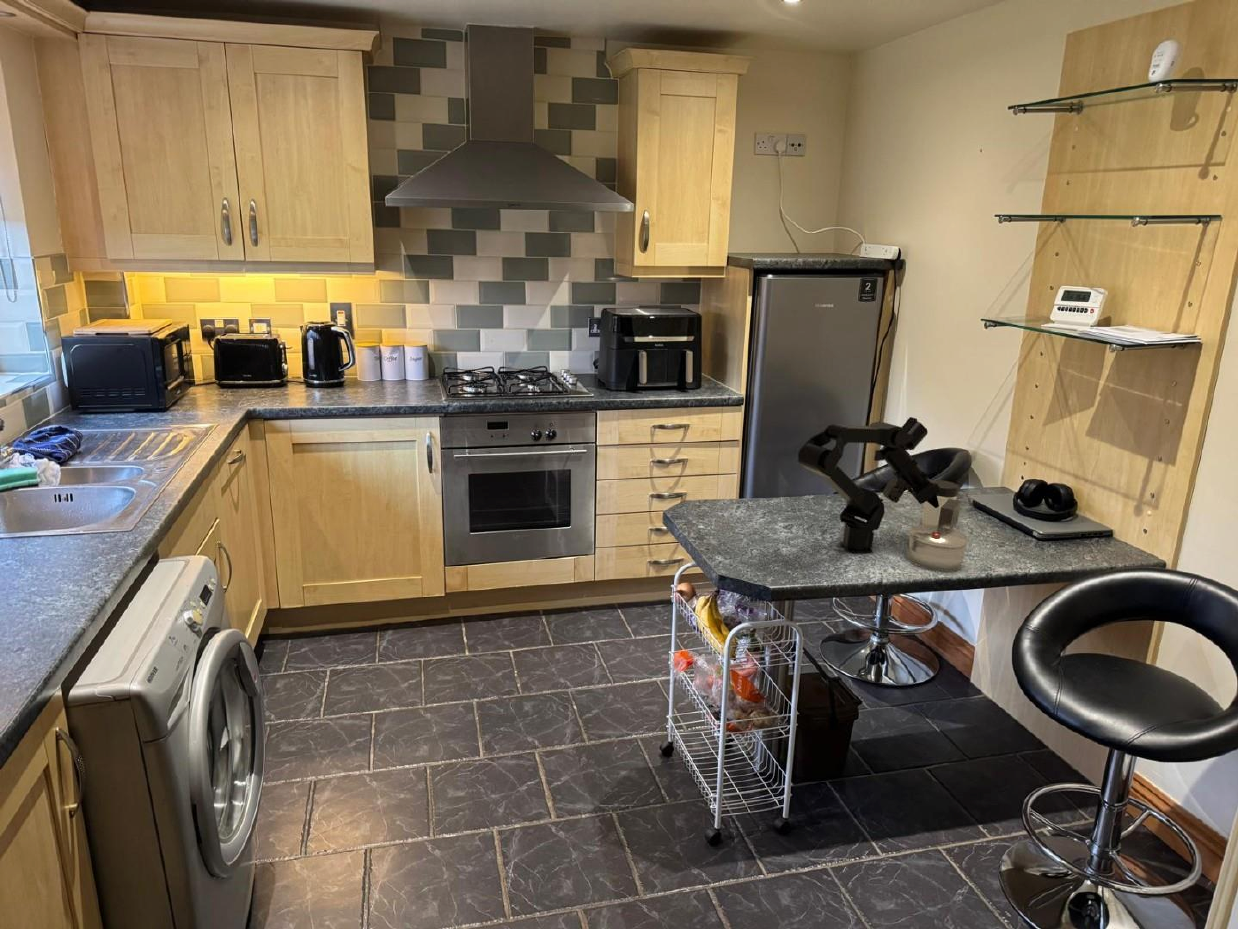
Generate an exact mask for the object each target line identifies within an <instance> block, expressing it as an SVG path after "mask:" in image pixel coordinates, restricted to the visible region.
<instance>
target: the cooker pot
mask: <svg viewBox="0 0 1238 929" xmlns="http://www.w3.org/2000/svg"><path fill="white" fill-rule="evenodd" d="M966 546H967V545H966ZM966 546H964V547H960V548H943V547H936V546H932V545H928V544H925V543H922V542H919V541H917V540H915V539H914V538H912V537H911V535H910V536H909V543H908V550H907V554H906V555H907V556H906V557H907V558H908V559H909V560H910V561H911V562H910V561H909V560H908V559H907V558H906V559H907V560H908V561H909V562H910V563H912V562H913V563H914V565H915V564H917V565H920V566H922V567H924V568H923V569H926V568H927V569H926V570H931V571H935V570H937V571H936V572H943V573H944V572H946V573H947V572H948V573H949V572H951V573H952V572H957V571H959V570H961V569H962V568H963V564H964V558H965V552H966V549H967V548H966ZM913 563H912V564H913ZM917 565H916V566H917ZM920 566H919V567H920ZM922 567H921V568H922Z"/></svg>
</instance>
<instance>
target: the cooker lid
mask: <svg viewBox="0 0 1238 929" xmlns="http://www.w3.org/2000/svg"><path fill="white" fill-rule="evenodd" d="M961 505H962V500H957V499H956V500H953V499H948V500H947V502H946V503H945V504H944V505H943V506H942V507H941V511H940V516H939V522H938V526H936V525H923V524H918V525H914V526H912V527H911V528H910V531H909V534H910V535H911V537H912V538H914V539H915V540H917V541H919V542H922V543H925V544H928V545H932V546H936V547H943V548H960V547H964V546H967V545H968V541H969V539H968V537H967V535H966V534H964V533H963V532H961V531H958V530H956V529H954V528H955V526H956V525H957V524H958V522H959V515H960V511H961Z"/></svg>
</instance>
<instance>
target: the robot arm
mask: <svg viewBox="0 0 1238 929" xmlns="http://www.w3.org/2000/svg"><path fill="white" fill-rule="evenodd" d="M927 435H928V429H927V427H925V425H923V424H922V423H921V422H920V421H919V420H918V419H917V418H916V417H913V416H910V417H909V418H908V419H907V420H906V422H905V423H904V424H903V425H902V426H899V425H895V424H892V423H888V422H884V421H875V422H871V423H870V424H869V425H852V424H851V425H849V424H847V425H845V424H837V423H833V424H829V425H828V426H827V427H826V428H825V429H824V430H823V431H822V432H819V433H817V434H815V435H813V436H812V437H810V438H809V439H808V440H807V442H805V444H804V445H803V446H802V447H801V448H800V449H799V450H798V454H797V455H798V456H797V457H798V458H797V463H798V464H799V465H800V467H803V468H805V469H806V470H808V471H811V472H812V473H815V474H817V475H819V476H820V477H821V478H822V479H823V480H824V481H825V482H827V484H829V485H830V486H831V487H832V488H833V490H834V491H836V492H837V493H838V495H839V496H841V497H842V498H843V499H844V500H845V501H846V503H845V507H844V509H843V510H842V512H841V513H840V514H839V519H840V523H844V531H843V537H842V541H839V545H841V546H842V548H843V549H845V550H846V551H847V552H848V553H850V554H851V553H853V554H858V553H865V554H866V553H869V554H871V553H873V552H874V550H873V549H872V548H873V543H874V537H875V533H874V531H877V530H879V528H880V527H881V526H880V525H881V523H882V520H883V517H884V516H885V504H884V503H883V501H884V499H883V498H881V497H880V496H879V495H878V493H876V492H874V491H872V490H870V489H868V488H867V489H866V488H864V487H861V486H859V485H857V483H855V482H854V481H853V480H852V479H851V478H850V477H849V475H848V474H846V473H845V472H844V471H843V470H842V468H841V467H840V466H839V465H840V464H839V462H840V460H841V459H842V458H843V454H844V451H845V446H846V445H847V444H849V443H852V444H853V443H854V444H875V445H879V446H883V447H881V449H876V450H874V451H875V452H874V453H875V454H874V457H873V460H874V462H880V461H885V462H886V464H887V465H888V467H889V468H891V472H892V474H893V476H892V478H891V479H889V481H888V483H887V484H886V486H885V487H884V488H883V490H882V495H883V496H884V497H885V498H886V499H888V500H890V501H891V502H892V503H895V504H897V503H898V502H900V500H901V497H902V496H903V494H904V493H905V492H906V490H907V491H908V492H909V494H911V495H912V496H913V498H914V499H915V500H916V501H917V503H919V504H920V505H922V504H925V502H926V501H927V502H928V503H929V504H931V505H932V506H933V507H934V508H937V507H939V503H938V499H937V493H938V492H939V491H940V490H941V488H940V487H939V486H938V484H937V483H936V482H935V481H934V480H935V479H931V478H930V477H929V476H928V475H927V473H926V472H925V471H924V470H923V469H922V468H921V467H920V465H919V464H918V462H917V461H916V460H915V459H914V458H913V457H912V455H911V454H910V453H909V452H908V451H914V450H915V449H916V447H918V445H919V444H920V443H921V442H922V441H923V440H924V438H926V436H927ZM831 442H835V446H834V447H833V448H832V449H830V448H827V447H823V446H825V445H827V444H829V443H831ZM856 517H857V518H856ZM859 518H860V519H859ZM862 519H863V520H862ZM864 520H865V521H864Z"/></svg>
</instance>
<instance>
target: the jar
mask: <svg viewBox="0 0 1238 929" xmlns="http://www.w3.org/2000/svg"><path fill="white" fill-rule="evenodd" d="M933 480H934V481H935V482H936V483H937V484H938V486H939V487H940V488H941V490H940V491H939V492H938V493H937V499H938V503H939V507H937V508H934V507H933V506H932V505H931V504H929V503H928V502H927V501H926V502H924V506H923V512H922V519H921V524H920V525H936V526H938V522H939V516H940V511H941V507H942V506H943V505H944V504H945V503H946V502H947V500H948V499H953V500H957V498H958V494H959V488H960V487H959V485H958V484H956V483H954V482H952V481H948V480H943V479H942V480H941V479H933Z"/></svg>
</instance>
